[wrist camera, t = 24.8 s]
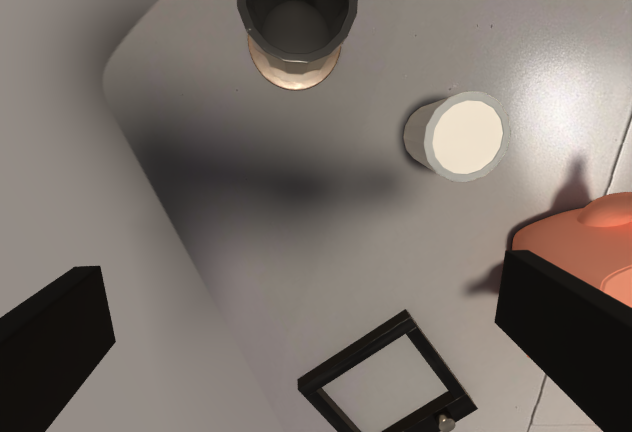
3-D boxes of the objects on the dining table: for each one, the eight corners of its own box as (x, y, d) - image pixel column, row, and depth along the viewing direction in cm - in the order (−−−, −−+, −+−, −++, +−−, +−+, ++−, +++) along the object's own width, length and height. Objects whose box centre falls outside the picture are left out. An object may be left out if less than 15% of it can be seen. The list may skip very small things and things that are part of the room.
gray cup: (245, 61, 29) (218, 28, 19) (274, -19, 28) (264, -103, 17) (314, 94, 30) (327, 82, 20) (346, 20, 29) (378, -37, 18)
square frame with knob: (297, 379, 39) (297, 396, 37) (405, 309, 38) (413, 322, 35) (371, 459, 44) (376, 479, 41) (471, 399, 42) (482, 416, 40)
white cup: (430, 80, 31) (468, 70, 25) (481, 127, 33) (530, 129, 26) (382, 141, 33) (406, 146, 26) (433, 183, 34) (468, 199, 27)
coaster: (229, 28, 29) (227, 27, 28) (304, -33, 28) (305, -36, 28) (285, 108, 31) (285, 108, 31) (357, 54, 30) (359, 52, 30)
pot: (574, 143, 34) (727, 157, 22) (679, 233, 38) (860, 286, 26) (456, 285, 38) (532, 363, 26) (562, 354, 41) (672, 451, 29)
